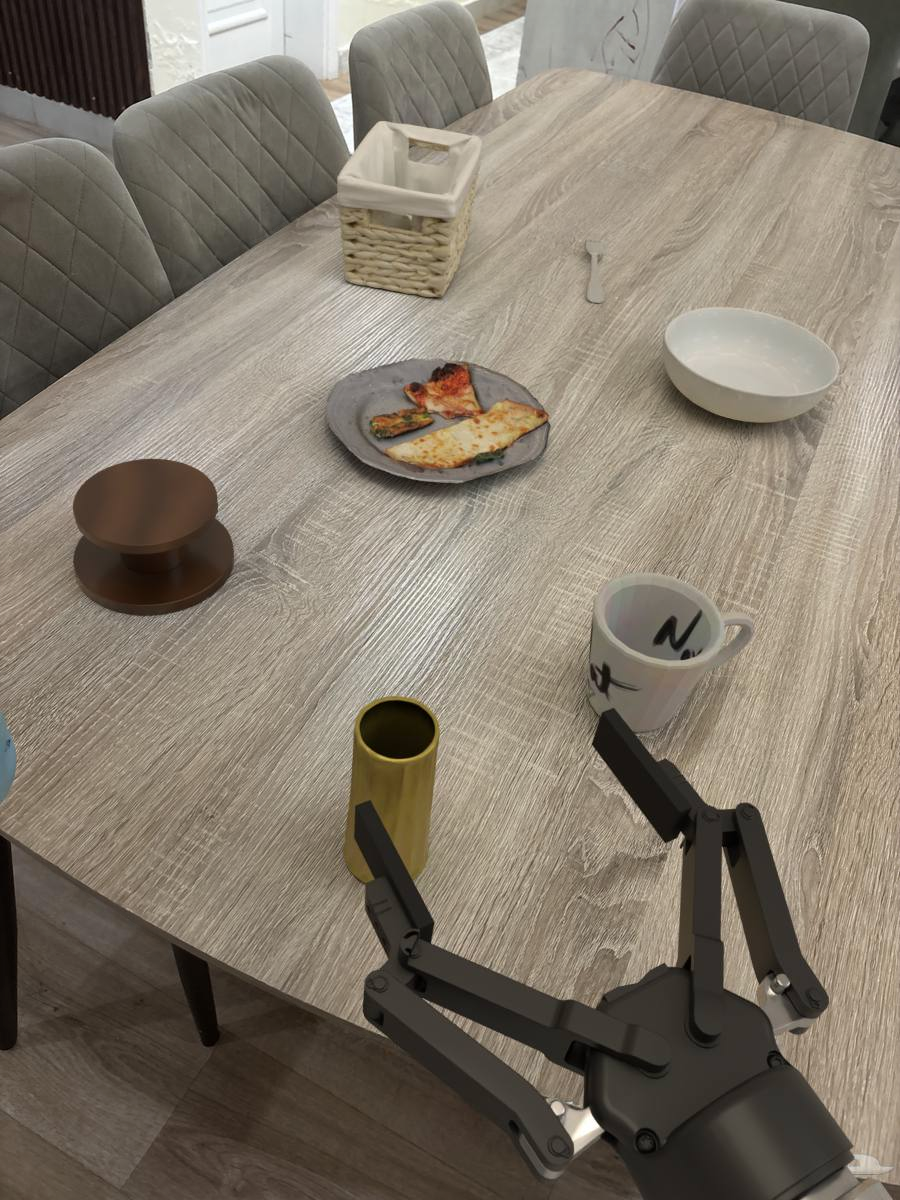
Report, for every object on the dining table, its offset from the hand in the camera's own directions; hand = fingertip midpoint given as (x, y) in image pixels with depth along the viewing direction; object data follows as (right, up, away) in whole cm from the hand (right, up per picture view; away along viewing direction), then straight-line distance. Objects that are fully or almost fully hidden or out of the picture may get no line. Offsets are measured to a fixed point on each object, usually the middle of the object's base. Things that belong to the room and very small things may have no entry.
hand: (488, 769), depth 46 cm
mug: (+16, 0, +34) cm, 38 cm away
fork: (+19, +57, +93) cm, 111 cm away
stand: (-29, +12, +40) cm, 51 cm away
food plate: (-3, +27, +60) cm, 66 cm away
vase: (-6, -10, +21) cm, 24 cm away
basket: (-8, +57, +90) cm, 107 cm away
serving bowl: (+34, +34, +71) cm, 85 cm away
